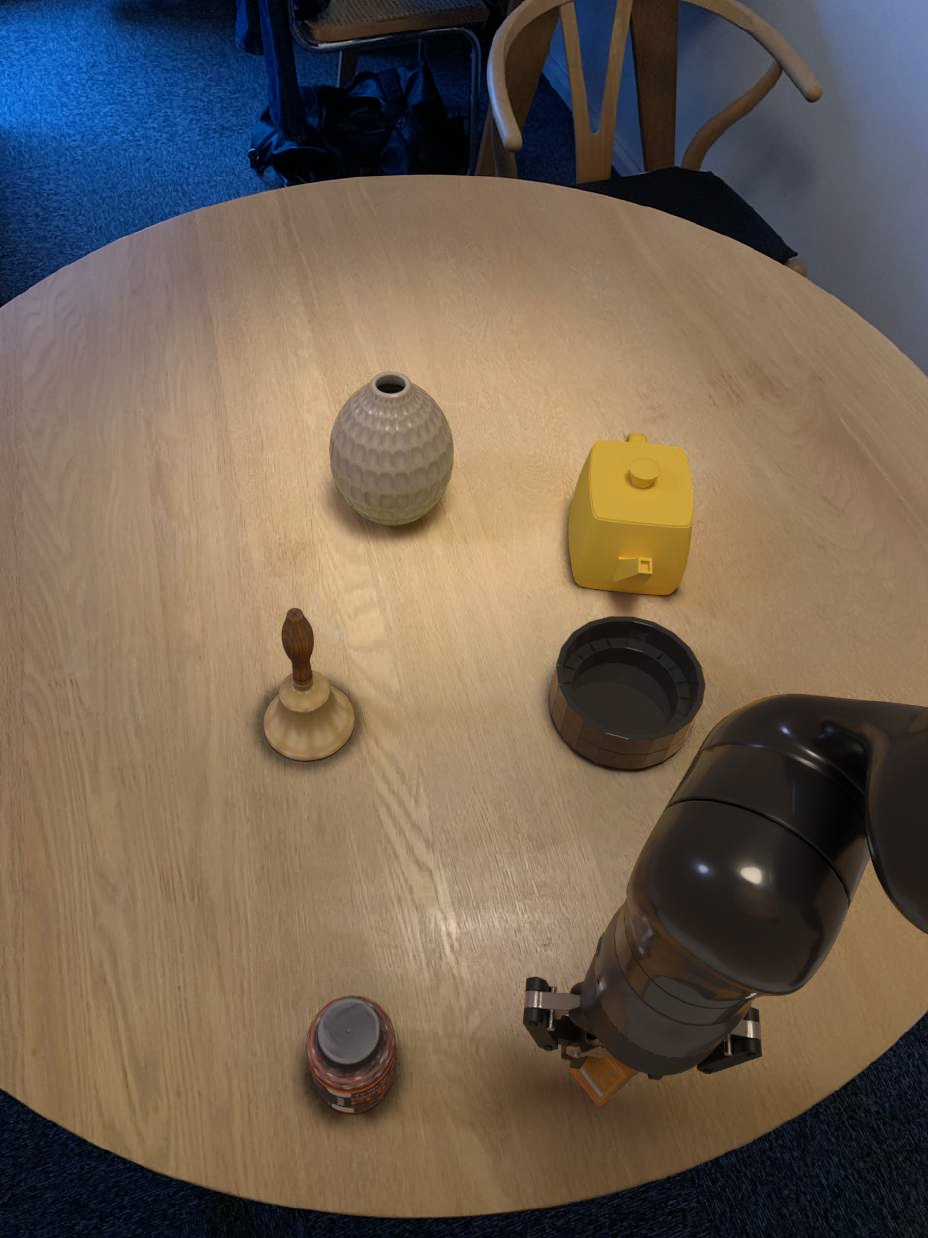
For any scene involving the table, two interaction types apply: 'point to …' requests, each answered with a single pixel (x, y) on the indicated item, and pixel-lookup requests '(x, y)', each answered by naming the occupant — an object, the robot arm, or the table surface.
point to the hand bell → (306, 702)
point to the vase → (391, 450)
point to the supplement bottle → (352, 1053)
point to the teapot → (632, 517)
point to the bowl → (626, 691)
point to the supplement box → (603, 1077)
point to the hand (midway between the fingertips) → (614, 1057)
